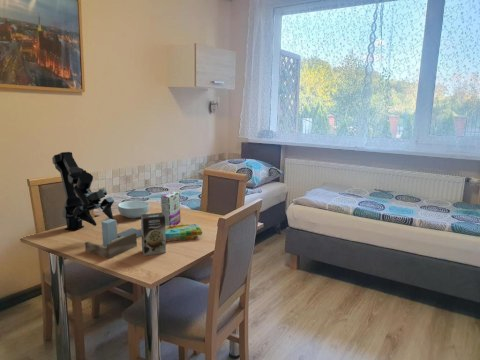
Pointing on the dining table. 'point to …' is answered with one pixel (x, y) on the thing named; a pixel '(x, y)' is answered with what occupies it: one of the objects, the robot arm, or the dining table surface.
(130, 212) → the cereal bowl
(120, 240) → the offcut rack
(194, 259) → the dining table surface
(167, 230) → the puzzle game
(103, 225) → the tall block
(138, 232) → the rubber mat
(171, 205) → the candy bar box
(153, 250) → the coffee box
